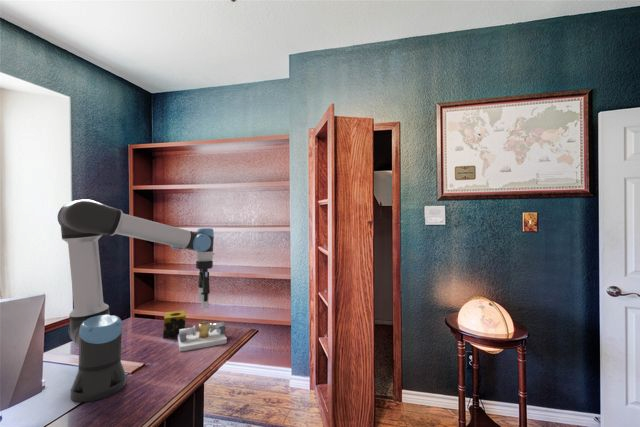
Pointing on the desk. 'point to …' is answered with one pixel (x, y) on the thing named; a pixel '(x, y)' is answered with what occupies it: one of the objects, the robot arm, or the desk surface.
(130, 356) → the desk surface
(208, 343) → the shaft base
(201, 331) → the coupler
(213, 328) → the shaft out
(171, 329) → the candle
